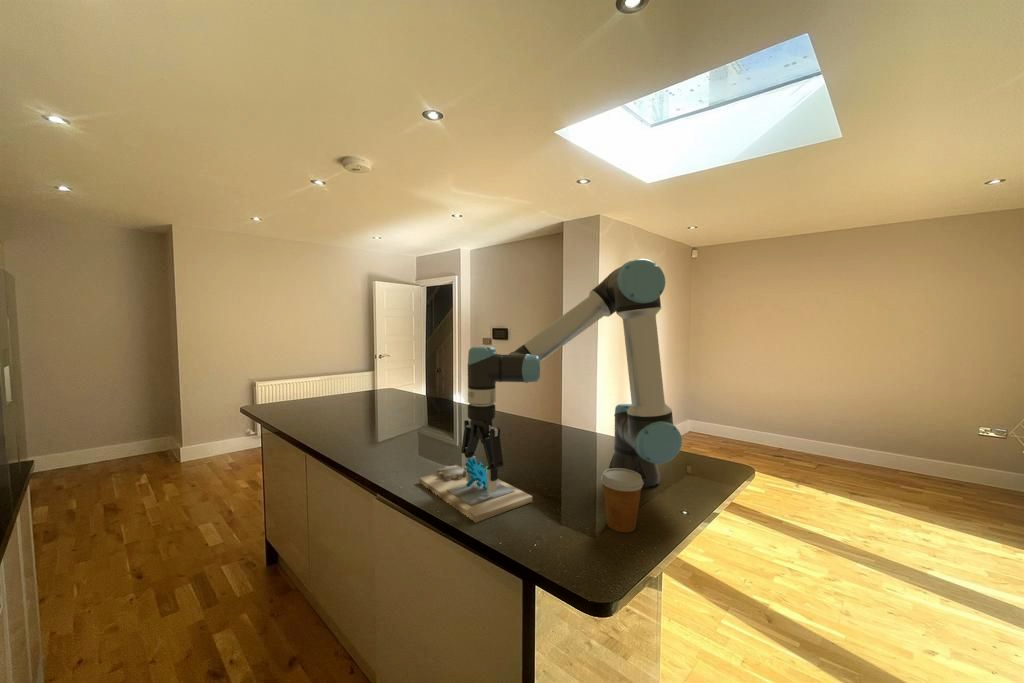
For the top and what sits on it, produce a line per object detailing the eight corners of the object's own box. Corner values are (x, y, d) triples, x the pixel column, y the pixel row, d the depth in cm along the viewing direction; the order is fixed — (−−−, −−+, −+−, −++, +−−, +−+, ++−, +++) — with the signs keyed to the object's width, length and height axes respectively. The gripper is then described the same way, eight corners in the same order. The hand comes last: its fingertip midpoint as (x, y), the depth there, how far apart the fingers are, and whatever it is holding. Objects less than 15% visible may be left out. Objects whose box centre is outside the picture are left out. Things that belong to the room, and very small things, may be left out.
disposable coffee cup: (651, 533, 85) (652, 480, 85) (614, 539, 82) (615, 484, 82) (627, 513, 94) (628, 465, 94) (592, 518, 91) (593, 469, 91)
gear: (486, 491, 96) (463, 459, 99) (470, 506, 97) (447, 474, 100) (501, 481, 106) (480, 453, 109) (487, 494, 107) (466, 466, 110)
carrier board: (532, 501, 100) (532, 490, 100) (475, 522, 89) (475, 510, 89) (469, 469, 124) (469, 459, 124) (418, 482, 113) (418, 472, 112)
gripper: (449, 399, 109) (448, 477, 109) (494, 412, 92) (493, 504, 92) (471, 396, 113) (470, 471, 114) (518, 408, 96) (517, 495, 97)
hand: (480, 485), depth 103 cm, fingers closed on gear, 9 cm apart
